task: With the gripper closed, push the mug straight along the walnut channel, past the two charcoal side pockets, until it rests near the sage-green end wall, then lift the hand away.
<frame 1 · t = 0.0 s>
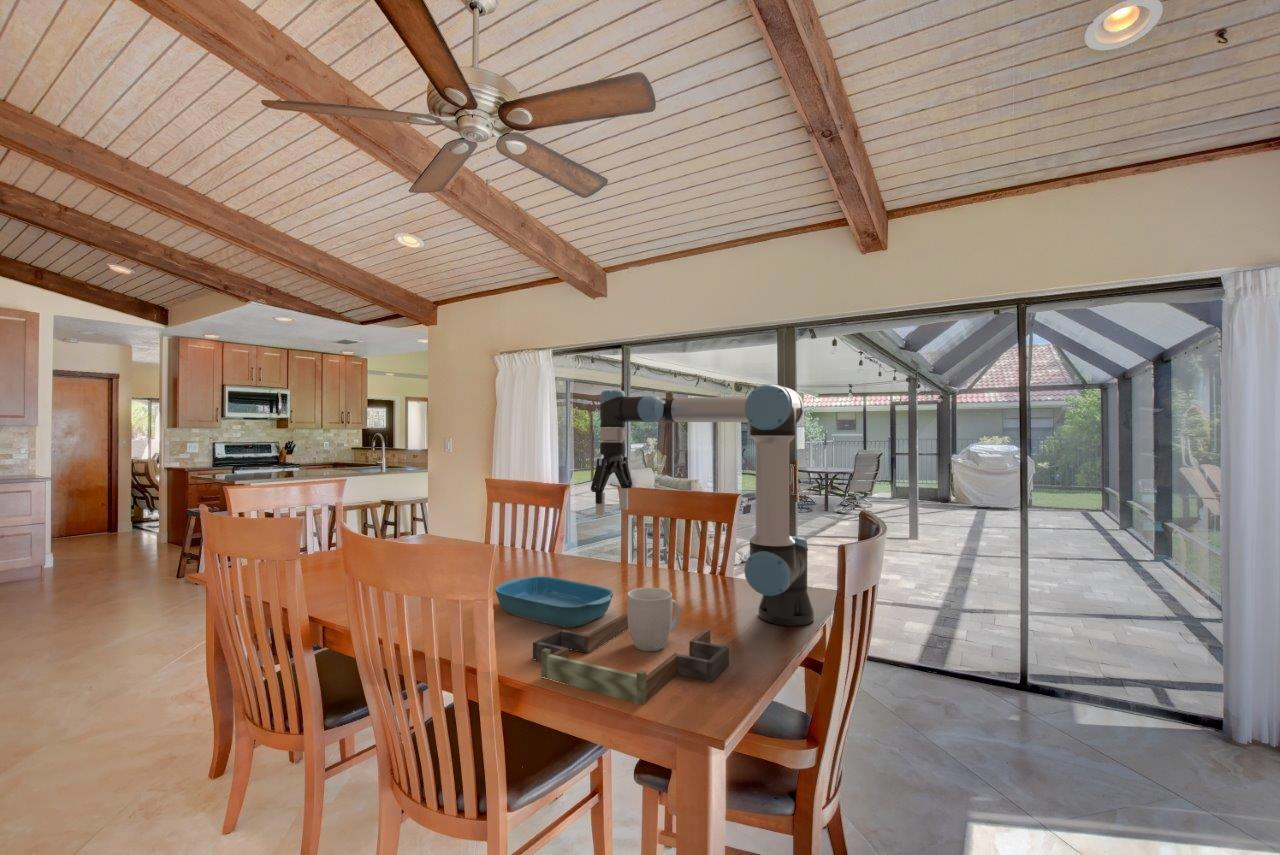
hand: (612, 511, 176), 28 cm above the table, tool pointing down, fingers open, 13 cm apart
casserole dish: (553, 614, 169), on the table
mug: (653, 646, 143), on the table
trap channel: (635, 658, 135), on the table
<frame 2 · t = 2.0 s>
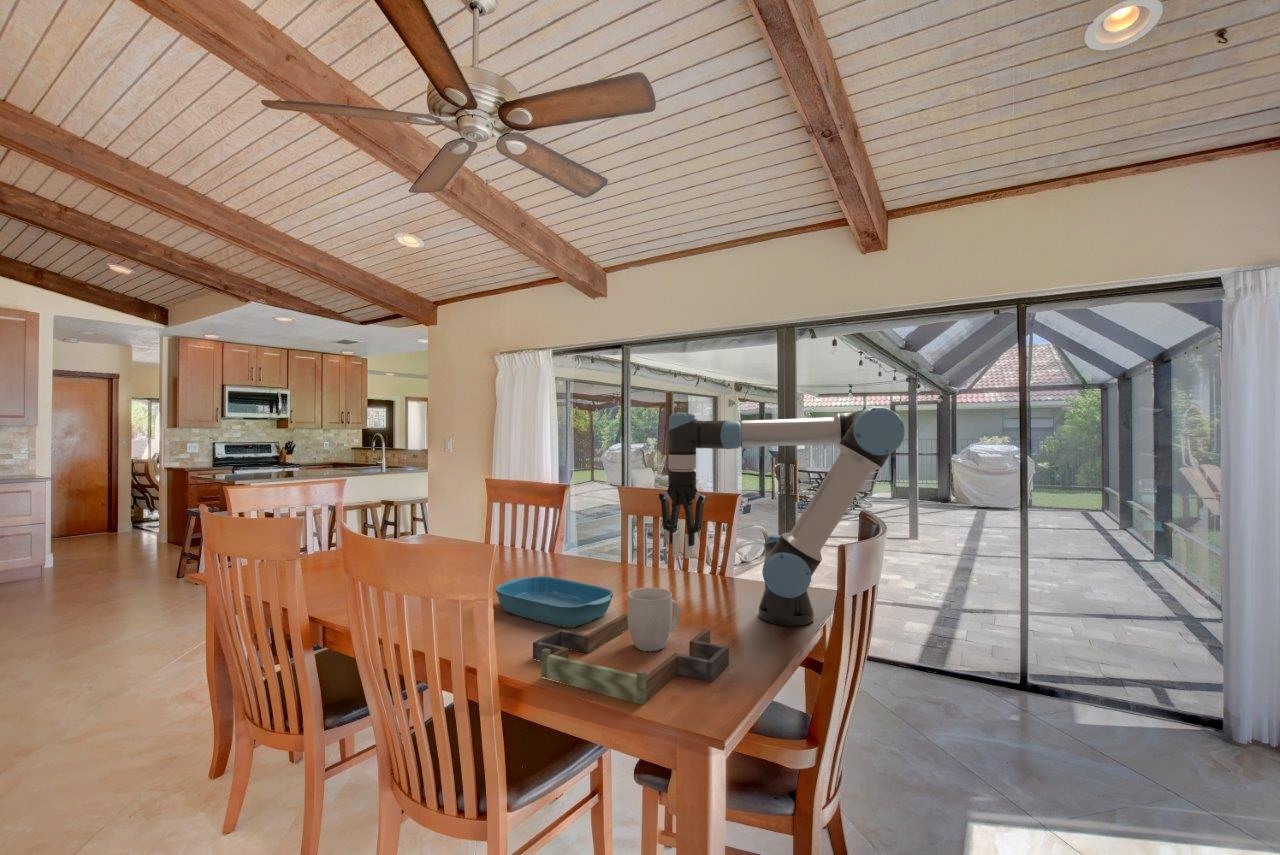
hand: (682, 556, 158), 19 cm above the table, tool pointing down, fingers open, 3 cm apart
nothing on the table moved.
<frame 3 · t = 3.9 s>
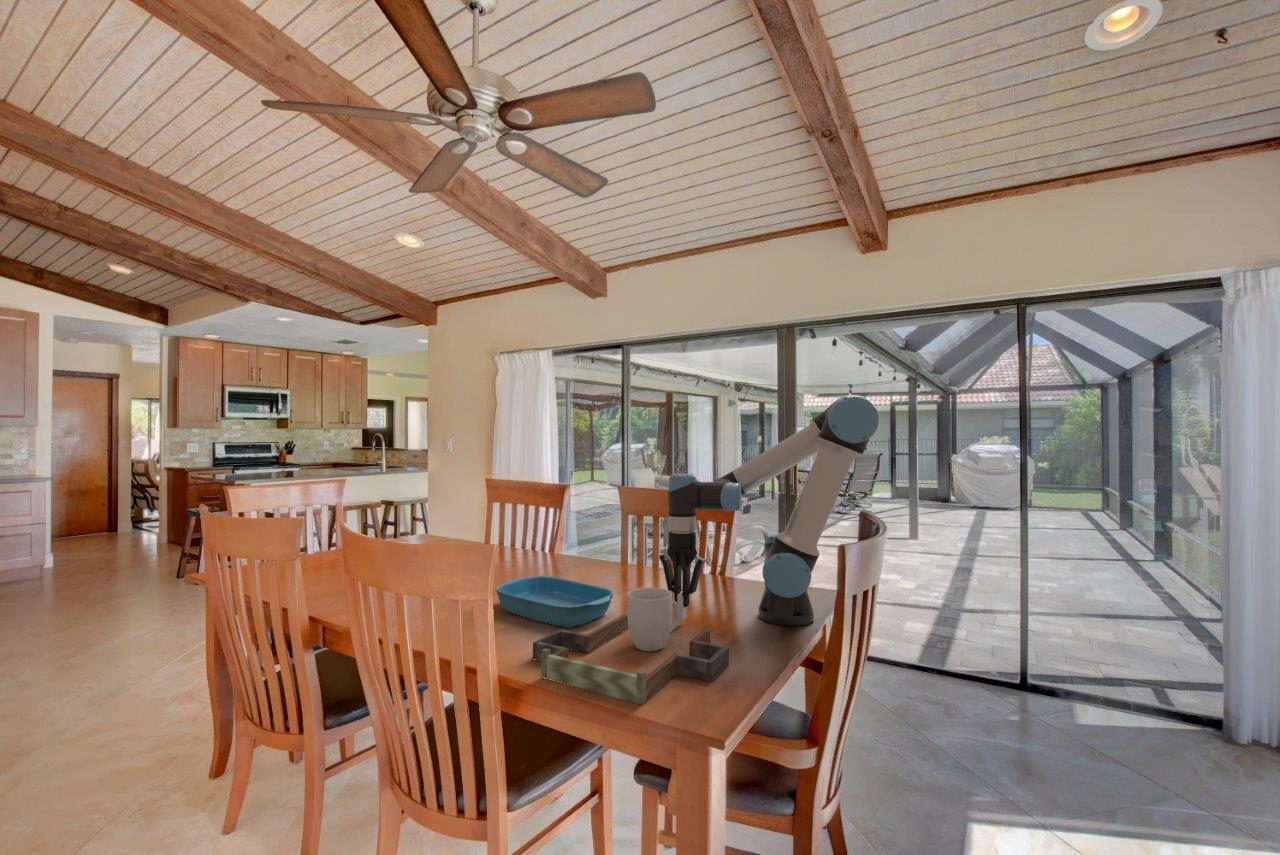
hand: (681, 618, 158), 2 cm above the table, tool pointing down, fingers closed
nothing on the table moved.
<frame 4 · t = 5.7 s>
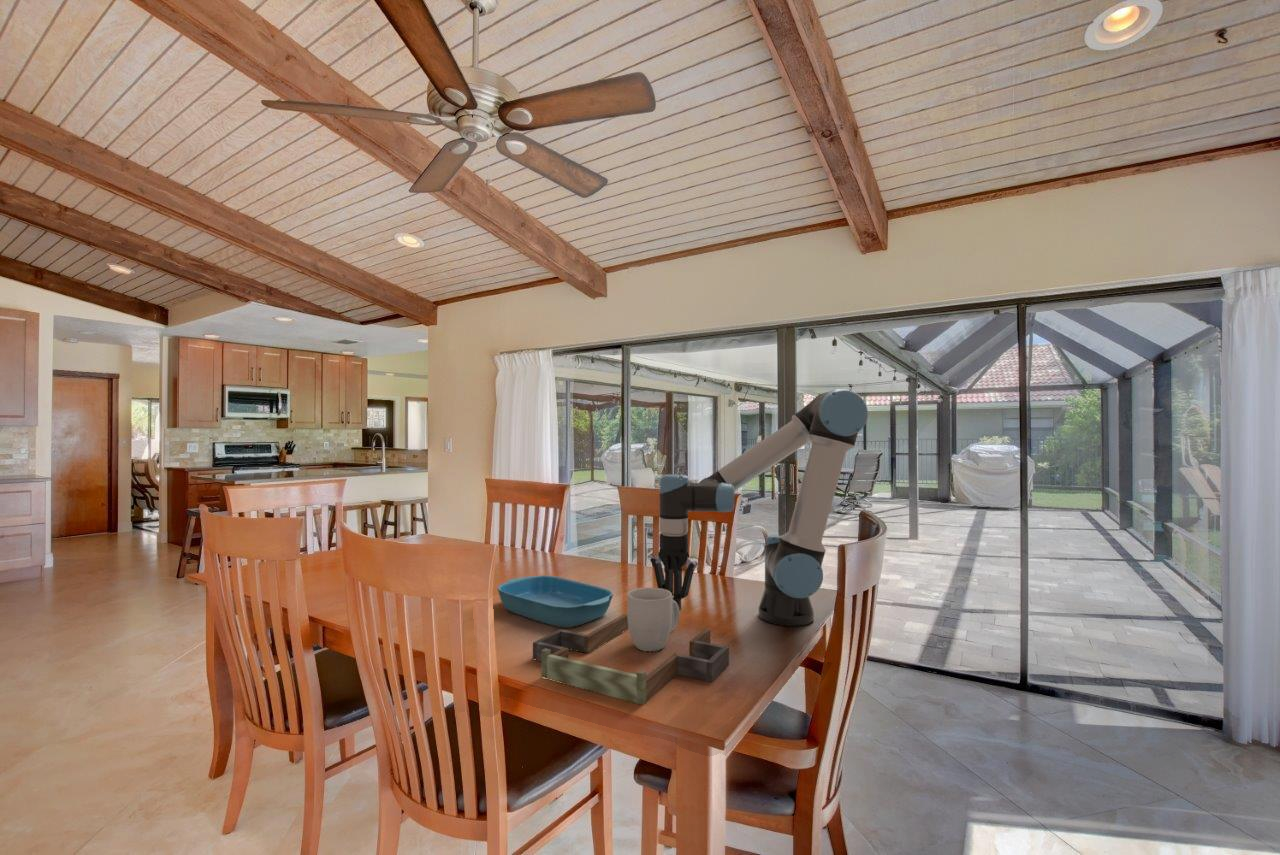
hand: (673, 623, 153), 2 cm above the table, tool pointing down, fingers closed
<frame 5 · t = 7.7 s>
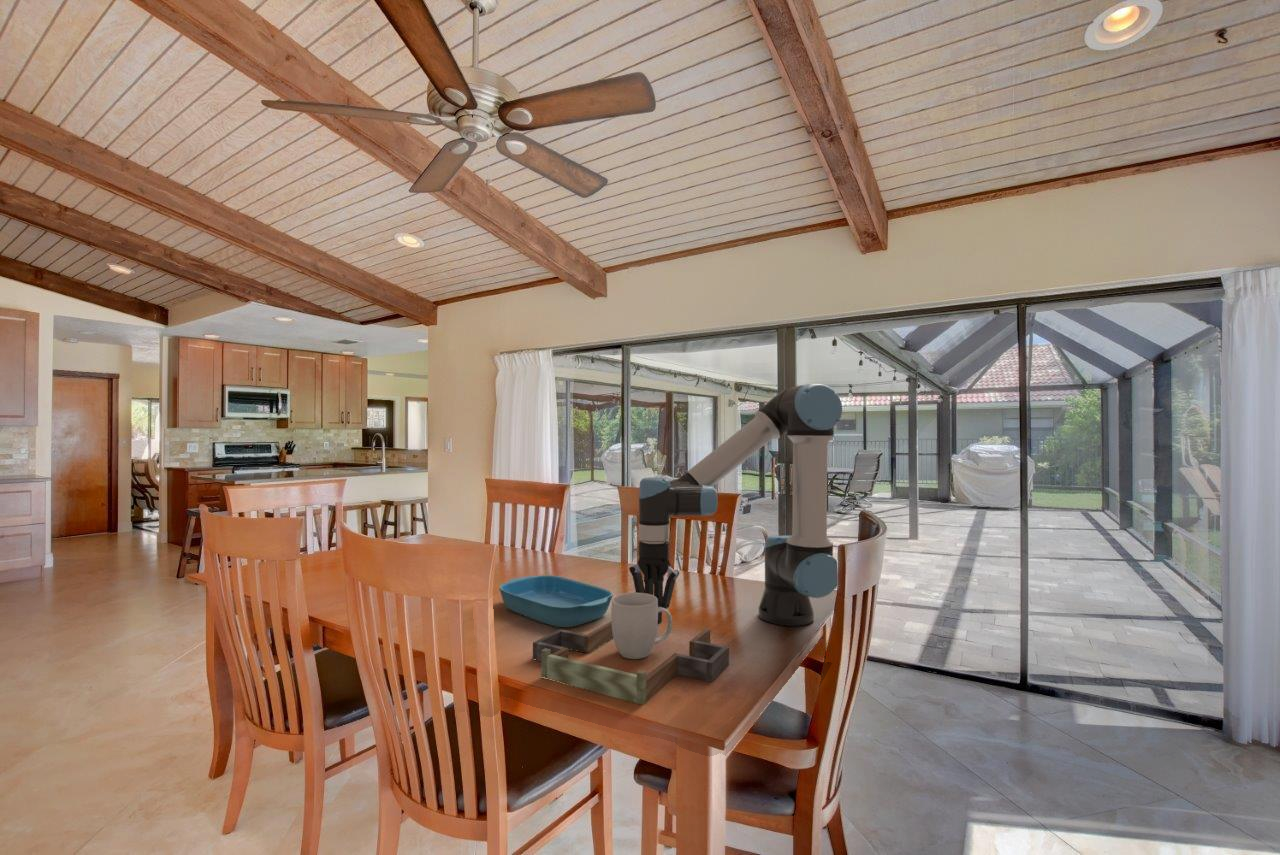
hand: (653, 636, 144), 2 cm above the table, tool pointing down, fingers closed
mug: (639, 654, 138), on the table, touching gripper
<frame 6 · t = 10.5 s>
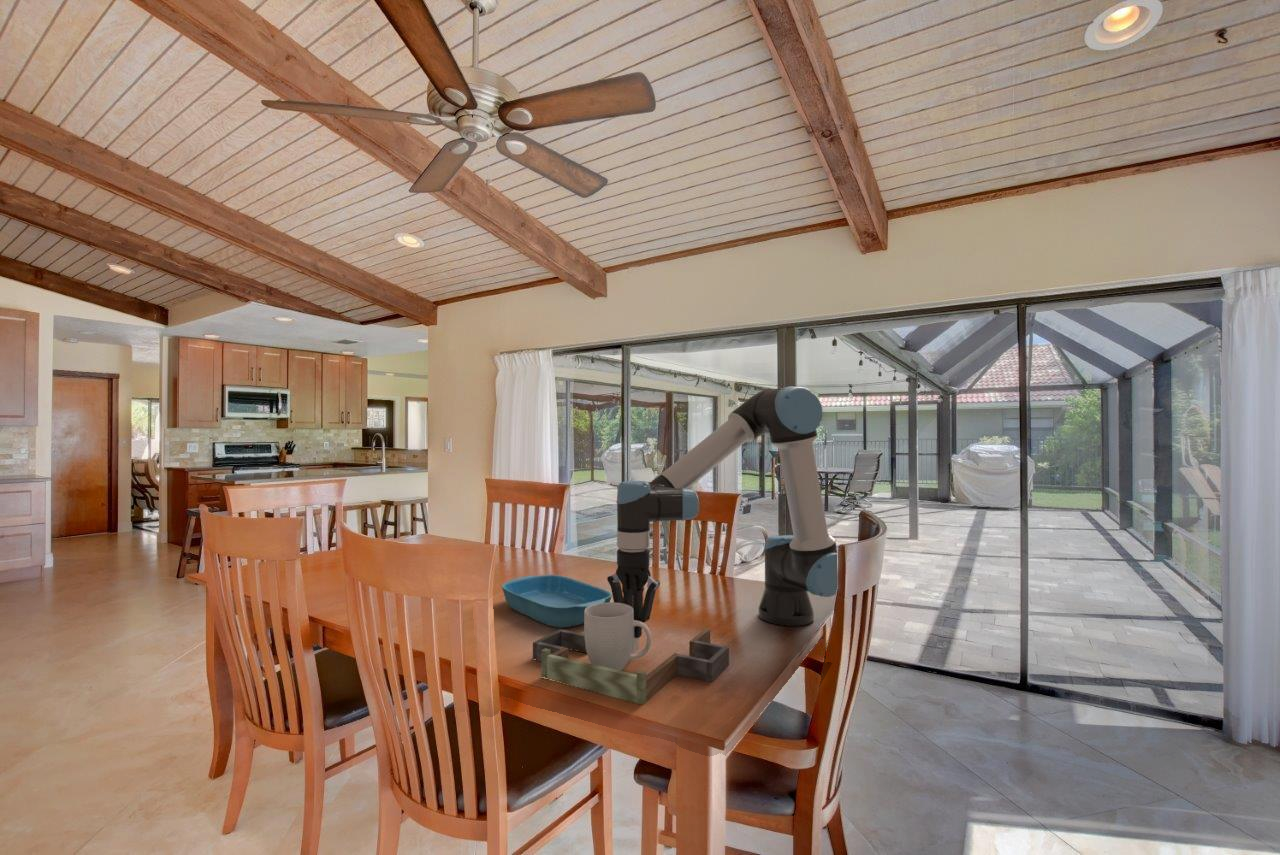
hand: (632, 650, 134), 2 cm above the table, tool pointing down, fingers closed
mug: (613, 669, 130), on the table, touching gripper, hand
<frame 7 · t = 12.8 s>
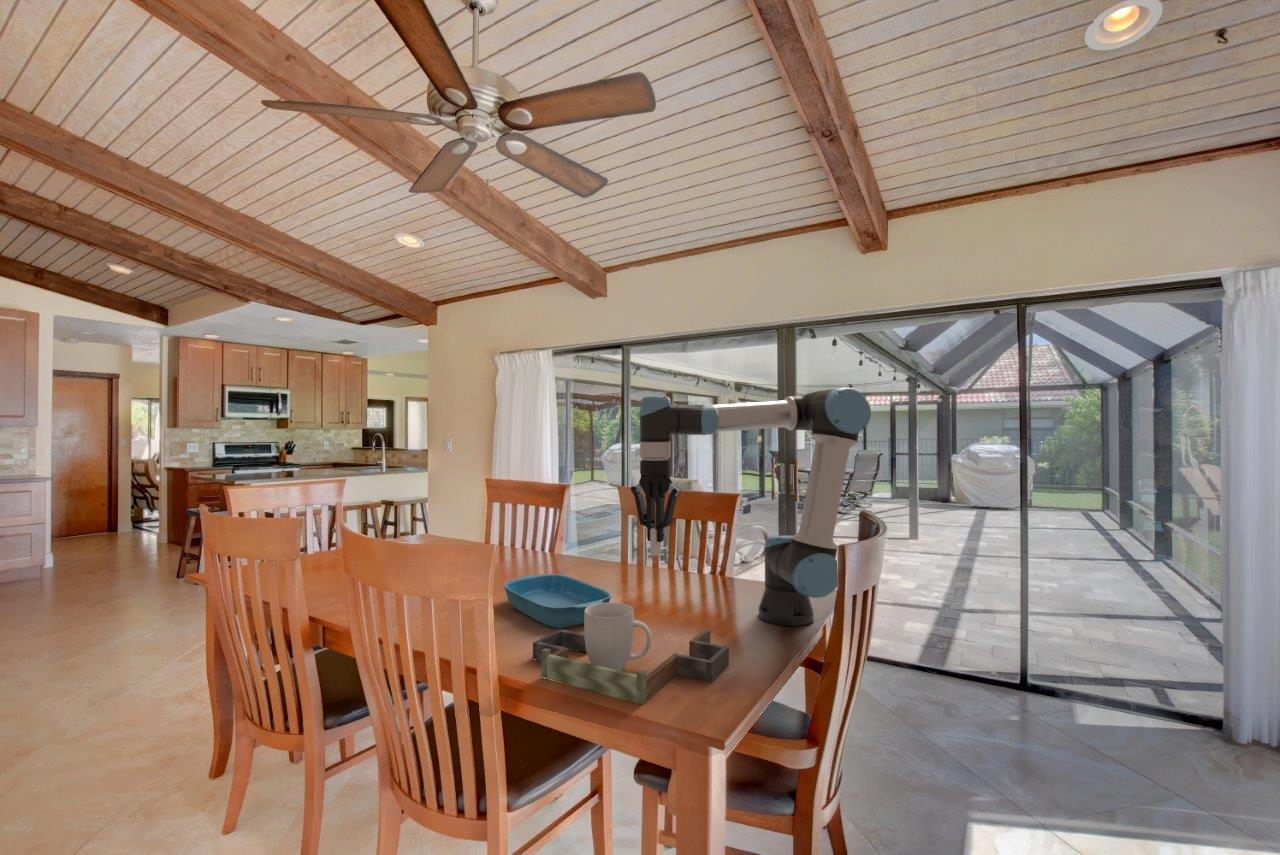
hand: (655, 554, 144), 22 cm above the table, tool pointing down, fingers closed
mug: (613, 669, 130), on the table
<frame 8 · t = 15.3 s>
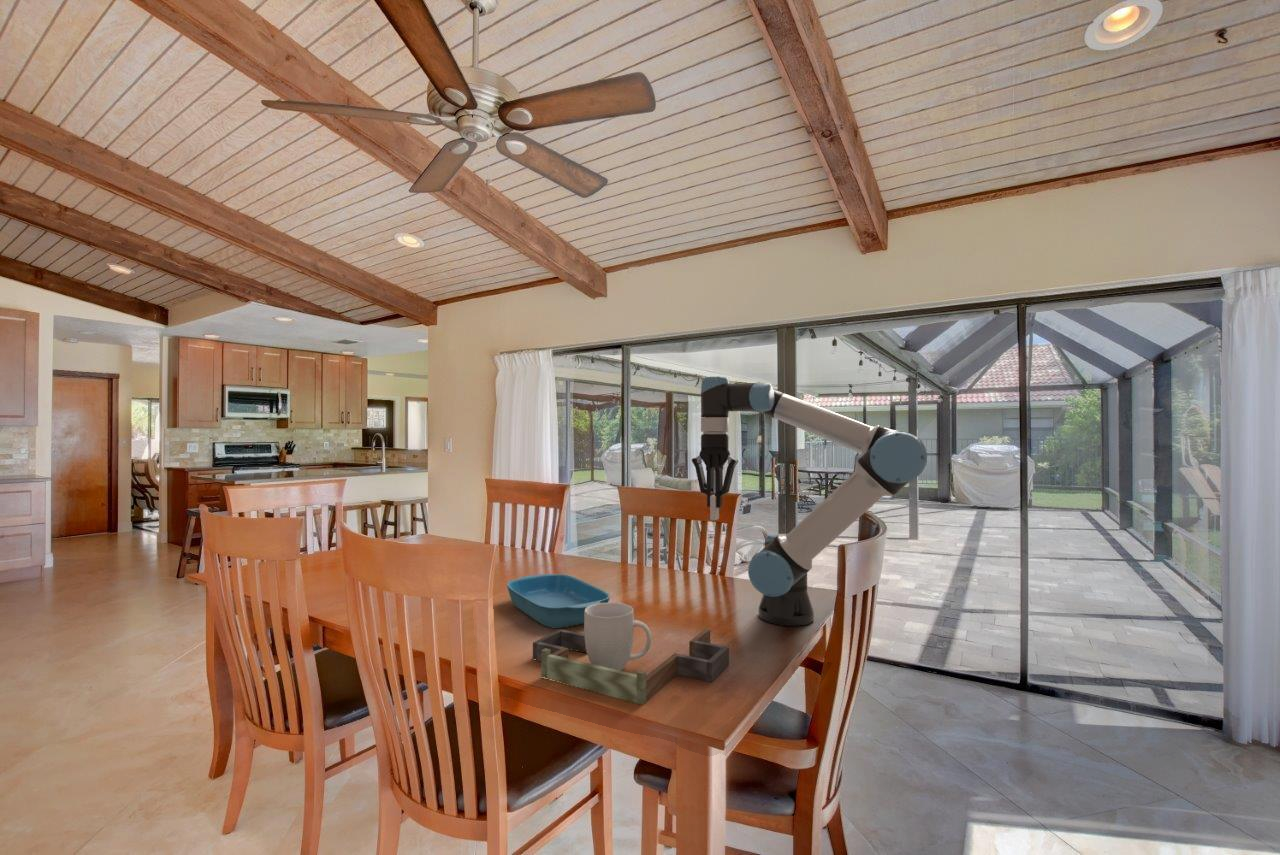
hand: (714, 519, 160), 28 cm above the table, tool pointing down, fingers closed
at the end: mug inside the target area (3.4 cm from its centre), on the table; mug tilted 0°; mug moved 16.1 cm from its start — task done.
